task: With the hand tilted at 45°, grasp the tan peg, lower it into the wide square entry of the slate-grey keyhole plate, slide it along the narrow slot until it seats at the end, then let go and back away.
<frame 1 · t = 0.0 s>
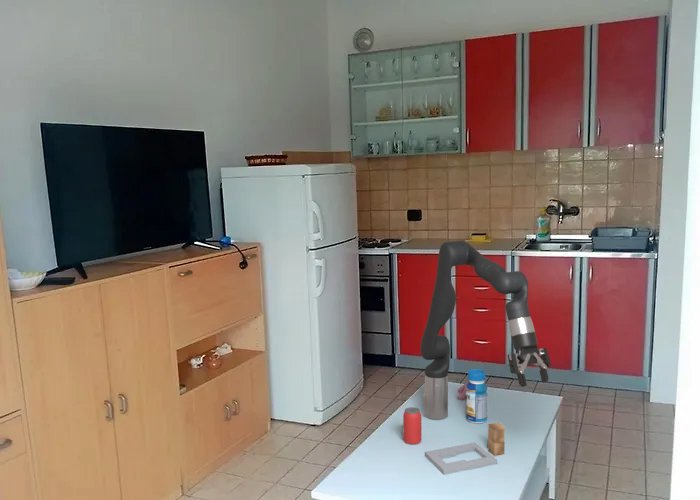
hand: (534, 384, 181), 31 cm above the table, tool tilted 20°, fingers open, 8 cm apart
tan peg: (496, 452, 203), on the table
beer can: (412, 441, 214), on the table
keyhole plate: (449, 461, 197), on the table
beverage bottle: (476, 420, 231), on the table
video game controller: (464, 397, 257), on the table
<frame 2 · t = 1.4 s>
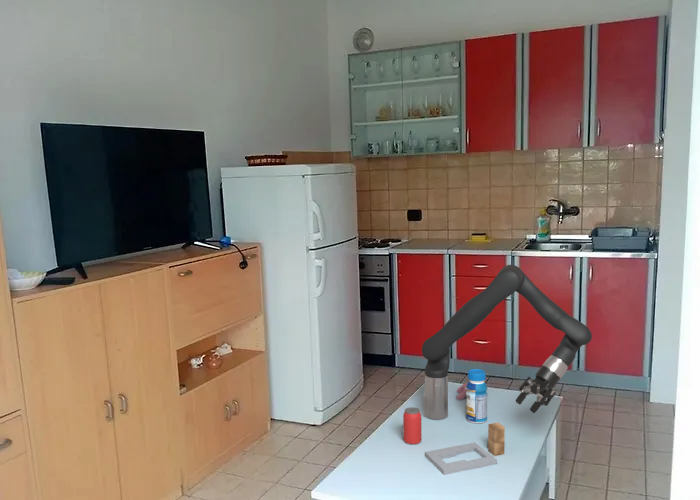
hand: (524, 407, 205), 15 cm above the table, tool tilted 45°, fingers open, 8 cm apart
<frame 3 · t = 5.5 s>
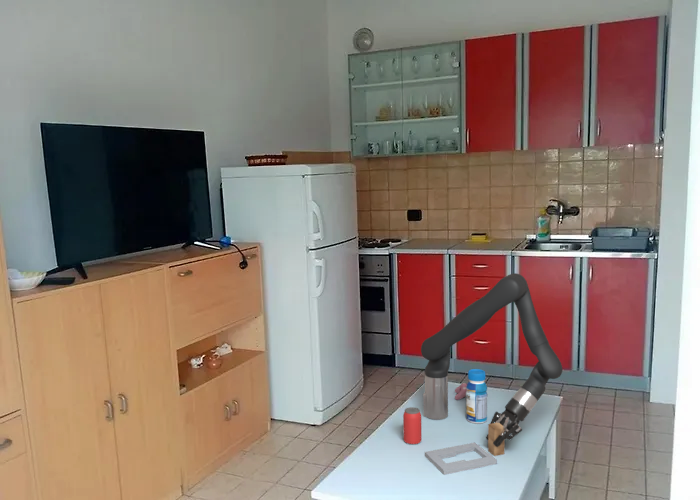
hand: (491, 442, 202), 4 cm above the table, tool tilted 45°, fingers closed on tan peg, 4 cm apart
tan peg: (496, 452, 203), on the table, touching gripper
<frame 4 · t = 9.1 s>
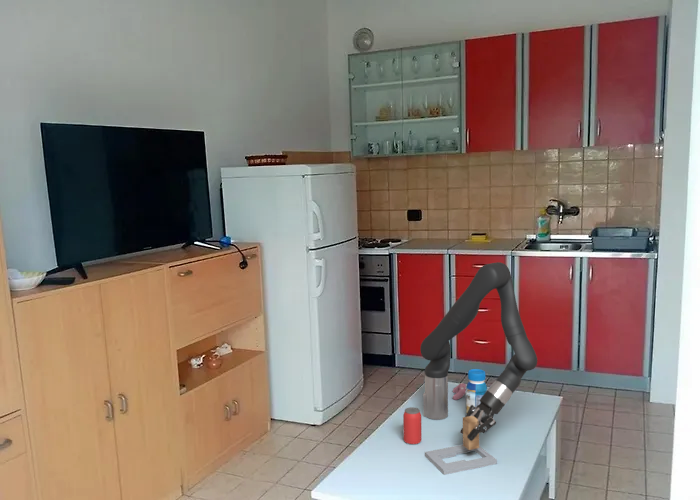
hand: (465, 436, 198), 8 cm above the table, tool tilted 45°, fingers closed on tan peg, 4 cm apart
tan peg: (471, 446, 199), point 4 cm above the table, touching gripper
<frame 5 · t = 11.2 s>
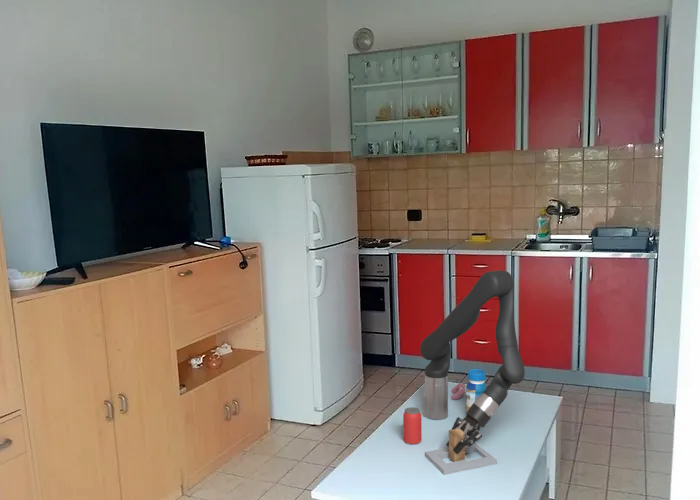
hand: (451, 449, 197), 4 cm above the table, tool tilted 45°, fingers closed on tan peg, 4 cm apart
tan peg: (456, 459, 198), resting in keyhole plate, touching gripper
when the fingers open (4 cm above the table, at t = 12.9 s): tan peg stays where it is, resting in keyhole plate.
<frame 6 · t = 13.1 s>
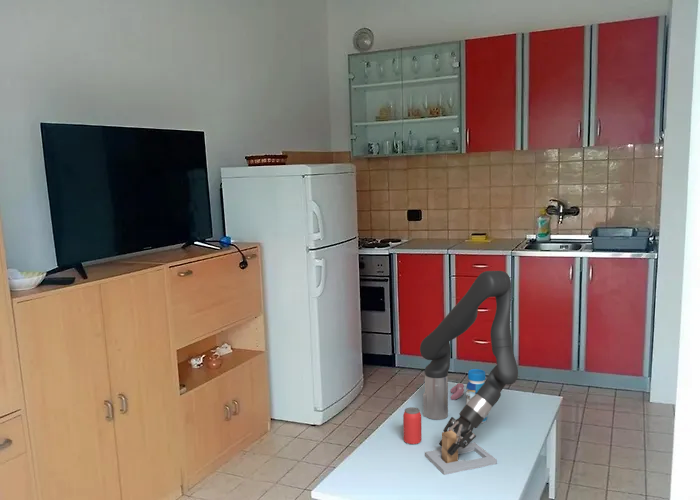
hand: (445, 449, 196), 5 cm above the table, tool tilted 45°, fingers open, 5 cm apart
tan peg: (449, 461, 197), resting in keyhole plate
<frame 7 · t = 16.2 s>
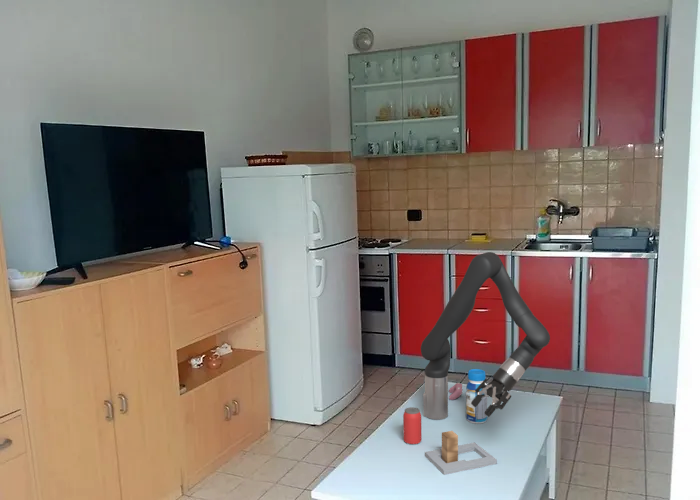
hand: (479, 410, 199), 17 cm above the table, tool tilted 45°, fingers open, 8 cm apart
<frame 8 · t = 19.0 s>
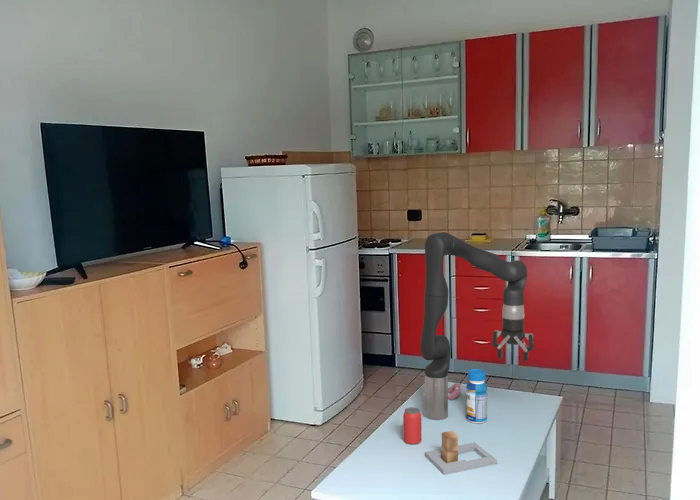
hand: (512, 359, 210), 30 cm above the table, tool pointing down, fingers open, 8 cm apart
at the end: tan peg 0.1 cm from the keyhole plate (horizontally); tan peg resting in keyhole plate; tan peg tilted 0° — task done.
